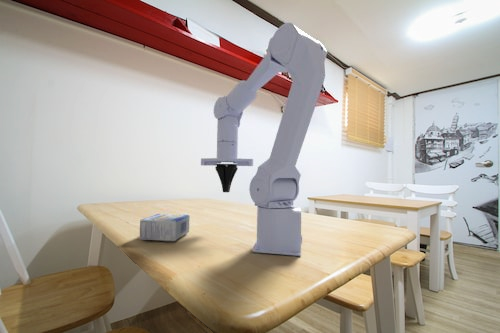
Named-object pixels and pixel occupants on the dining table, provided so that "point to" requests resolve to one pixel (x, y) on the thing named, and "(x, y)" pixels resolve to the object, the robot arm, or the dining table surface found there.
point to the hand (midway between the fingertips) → (226, 192)
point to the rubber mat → (164, 240)
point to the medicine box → (164, 227)
